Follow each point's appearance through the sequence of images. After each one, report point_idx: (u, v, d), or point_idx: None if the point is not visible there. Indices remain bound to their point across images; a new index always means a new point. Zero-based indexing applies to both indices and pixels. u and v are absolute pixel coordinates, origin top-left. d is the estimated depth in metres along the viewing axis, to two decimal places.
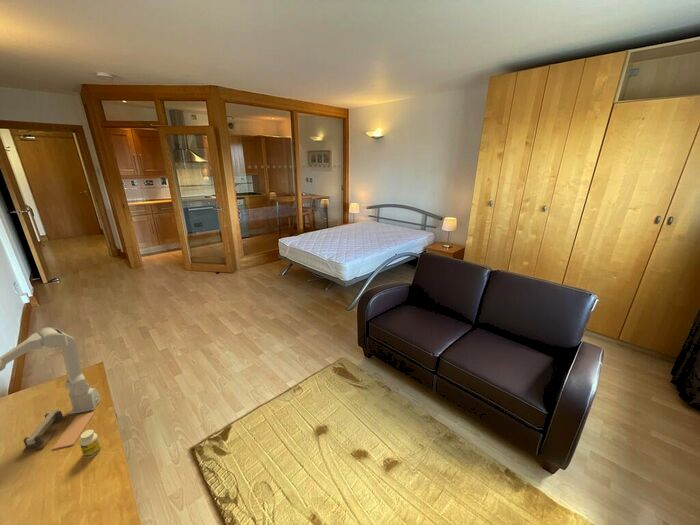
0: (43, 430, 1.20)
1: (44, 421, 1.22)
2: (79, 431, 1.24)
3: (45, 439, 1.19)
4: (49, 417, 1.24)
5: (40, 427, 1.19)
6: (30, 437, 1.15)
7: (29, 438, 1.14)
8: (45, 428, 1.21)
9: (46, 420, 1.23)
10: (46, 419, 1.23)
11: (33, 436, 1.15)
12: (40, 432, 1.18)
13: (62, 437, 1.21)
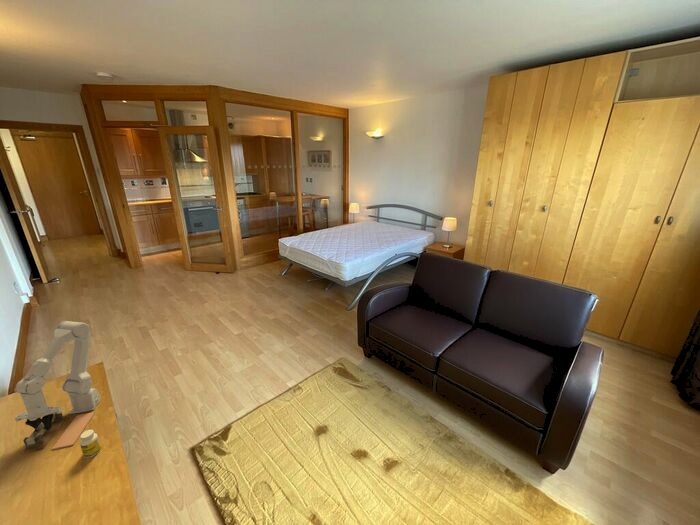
0: (43, 430, 1.20)
1: None
2: (79, 431, 1.24)
3: (45, 439, 1.19)
4: None
5: (40, 427, 1.19)
6: (30, 437, 1.15)
7: (29, 438, 1.14)
8: None
9: None
10: None
11: (33, 436, 1.15)
12: (40, 432, 1.18)
13: (62, 437, 1.21)
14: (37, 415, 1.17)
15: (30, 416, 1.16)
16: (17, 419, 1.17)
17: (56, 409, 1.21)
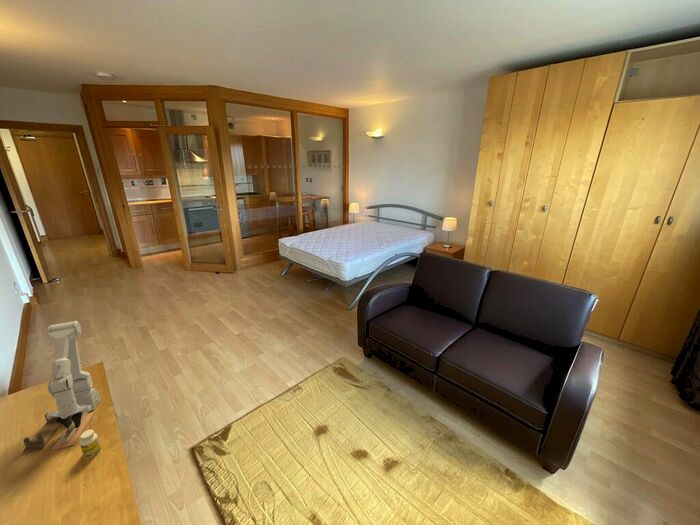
0: (74, 431, 1.23)
1: None
2: (79, 431, 1.24)
3: (45, 439, 1.19)
4: None
5: (71, 428, 1.23)
6: (62, 438, 1.18)
7: (62, 438, 1.17)
8: (76, 429, 1.24)
9: None
10: None
11: (65, 436, 1.18)
12: (72, 432, 1.21)
13: None
14: (68, 413, 1.20)
15: (61, 414, 1.19)
16: (48, 417, 1.19)
17: (85, 407, 1.24)
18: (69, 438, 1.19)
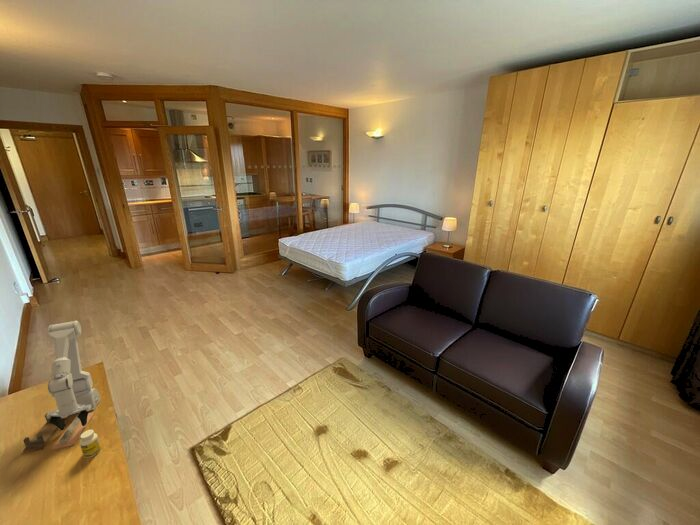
0: (74, 431, 1.23)
1: (74, 422, 1.25)
2: (79, 431, 1.24)
3: (45, 439, 1.19)
4: None
5: (71, 428, 1.23)
6: (62, 438, 1.18)
7: (62, 438, 1.17)
8: (76, 429, 1.24)
9: (76, 421, 1.26)
10: (76, 420, 1.26)
11: (65, 436, 1.18)
12: (72, 432, 1.21)
13: None
14: (68, 413, 1.20)
15: (61, 413, 1.19)
16: (48, 416, 1.19)
17: (85, 407, 1.24)
18: (69, 438, 1.19)
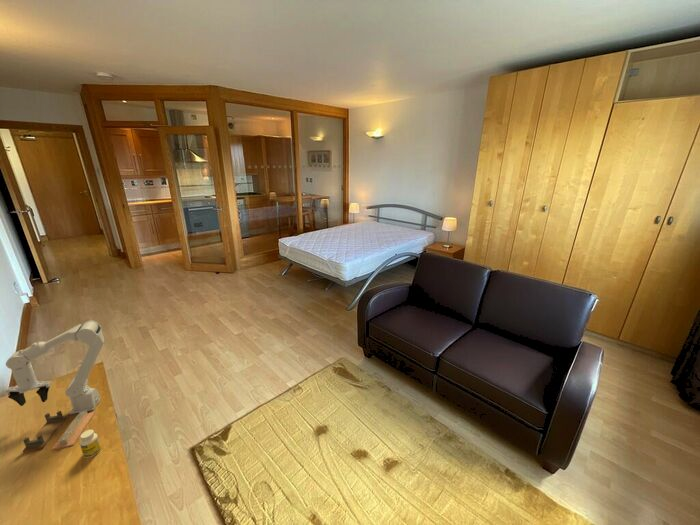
0: (74, 431, 1.23)
1: (74, 422, 1.25)
2: (79, 431, 1.24)
3: (45, 439, 1.19)
4: (79, 418, 1.28)
5: (71, 428, 1.23)
6: (62, 438, 1.18)
7: (62, 438, 1.17)
8: (76, 429, 1.24)
9: (76, 421, 1.26)
10: (76, 420, 1.26)
11: (65, 436, 1.18)
12: (72, 432, 1.21)
13: None
14: (26, 388, 1.23)
15: (20, 389, 1.22)
16: (7, 392, 1.22)
17: (45, 383, 1.27)
18: (69, 438, 1.19)
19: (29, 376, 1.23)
